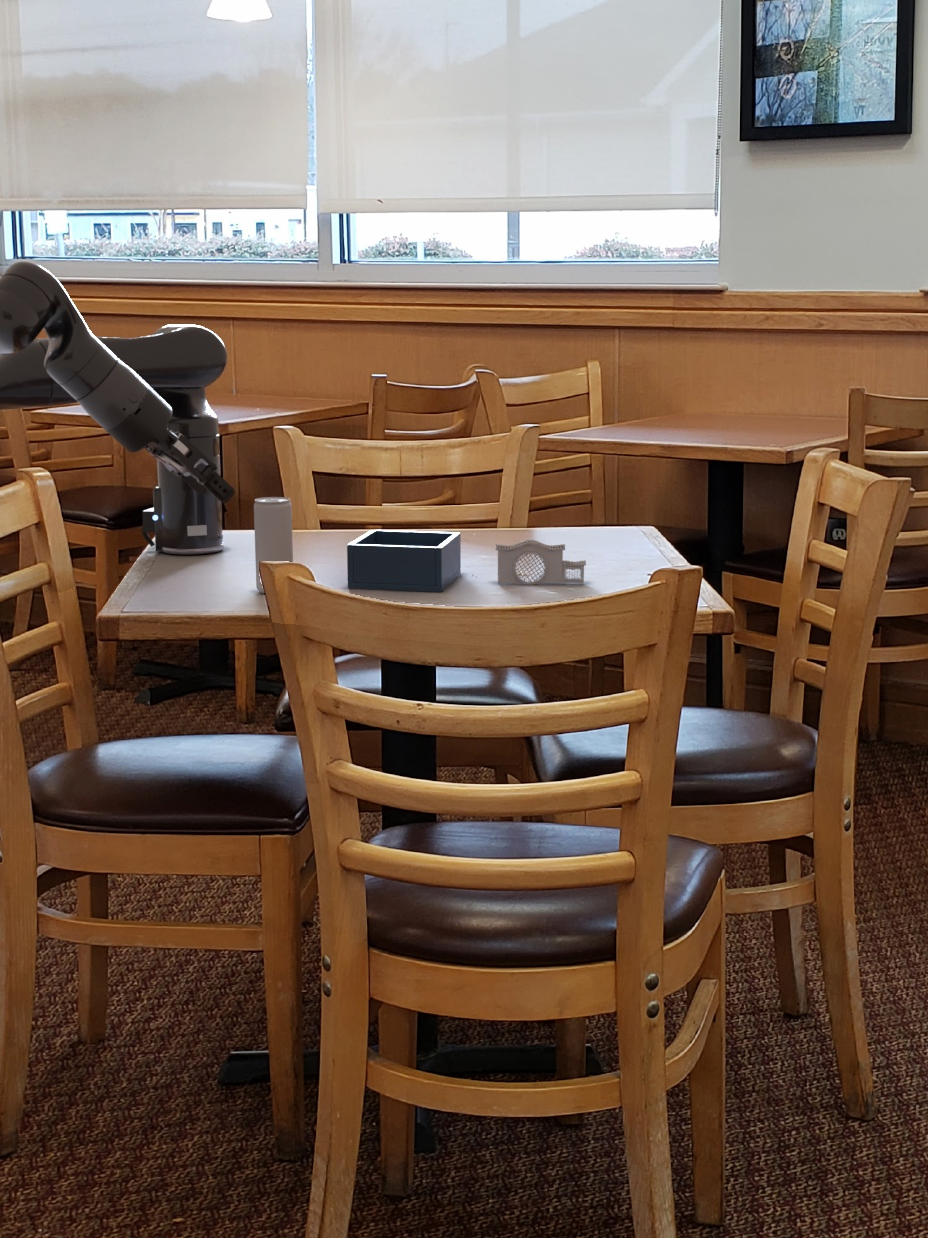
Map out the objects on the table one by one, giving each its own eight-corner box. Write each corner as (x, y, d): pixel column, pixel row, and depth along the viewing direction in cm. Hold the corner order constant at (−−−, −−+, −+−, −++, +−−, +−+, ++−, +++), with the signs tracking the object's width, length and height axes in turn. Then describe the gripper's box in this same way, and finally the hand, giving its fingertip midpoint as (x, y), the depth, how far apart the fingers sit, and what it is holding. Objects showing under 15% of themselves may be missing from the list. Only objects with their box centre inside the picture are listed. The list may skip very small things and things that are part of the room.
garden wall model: (584, 582, 196) (585, 538, 195) (585, 584, 195) (586, 540, 193) (495, 582, 196) (495, 538, 195) (495, 584, 195) (495, 540, 193)
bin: (347, 588, 192) (346, 544, 191) (371, 570, 204) (371, 529, 203) (441, 592, 190) (441, 547, 189) (460, 574, 202) (460, 532, 201)
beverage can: (287, 595, 188) (284, 502, 185) (251, 594, 188) (248, 501, 186) (298, 588, 192) (296, 497, 190) (263, 586, 193) (260, 496, 190)
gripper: (87, 423, 182) (180, 509, 189) (119, 432, 169) (218, 524, 177) (127, 378, 183) (218, 465, 191) (162, 385, 171) (258, 477, 179)
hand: (218, 493), depth 184 cm, fingers open, 8 cm apart
